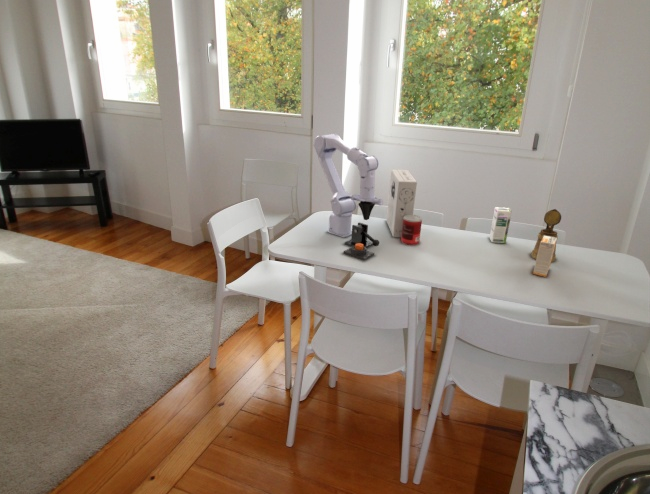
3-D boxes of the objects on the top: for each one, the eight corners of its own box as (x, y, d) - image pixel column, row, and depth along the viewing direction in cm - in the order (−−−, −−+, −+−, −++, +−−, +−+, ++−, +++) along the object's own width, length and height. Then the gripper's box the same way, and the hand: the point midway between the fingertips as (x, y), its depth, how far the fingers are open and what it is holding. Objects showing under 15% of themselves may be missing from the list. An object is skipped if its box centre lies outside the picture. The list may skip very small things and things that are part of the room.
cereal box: (410, 238, 204) (417, 181, 194) (392, 237, 204) (398, 181, 194) (402, 221, 223) (407, 169, 213) (386, 220, 223) (391, 169, 213)
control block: (343, 253, 186) (343, 246, 185) (353, 248, 191) (354, 242, 190) (364, 261, 180) (364, 253, 179) (374, 255, 185) (374, 248, 184)
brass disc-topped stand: (557, 252, 193) (567, 210, 185) (554, 264, 182) (565, 220, 175) (533, 247, 197) (543, 206, 189) (529, 258, 186) (539, 215, 179)
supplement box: (546, 277, 171) (555, 244, 165) (532, 274, 173) (540, 241, 168) (549, 269, 177) (557, 237, 172) (535, 266, 179) (543, 234, 174)
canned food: (418, 239, 203) (421, 214, 198) (420, 246, 196) (423, 221, 191) (400, 238, 203) (402, 214, 199) (401, 244, 196) (404, 220, 192)
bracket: (373, 245, 195) (374, 225, 192) (362, 250, 190) (363, 230, 186) (355, 239, 201) (356, 220, 197) (344, 244, 195) (345, 224, 191)
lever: (378, 246, 190) (381, 241, 189) (374, 248, 188) (377, 243, 187) (357, 228, 195) (360, 223, 193) (354, 230, 193) (356, 225, 191)
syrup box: (491, 242, 201) (497, 210, 195) (489, 237, 206) (495, 206, 200) (505, 243, 200) (512, 211, 194) (502, 238, 205) (509, 207, 200)
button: (353, 248, 184) (353, 244, 184) (358, 246, 187) (358, 242, 186) (360, 251, 183) (360, 246, 182) (364, 248, 185) (365, 244, 184)
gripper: (346, 186, 190) (346, 218, 195) (377, 191, 181) (375, 224, 186) (356, 183, 195) (356, 214, 200) (386, 187, 186) (385, 220, 191)
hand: (366, 219), depth 193 cm, fingers closed
